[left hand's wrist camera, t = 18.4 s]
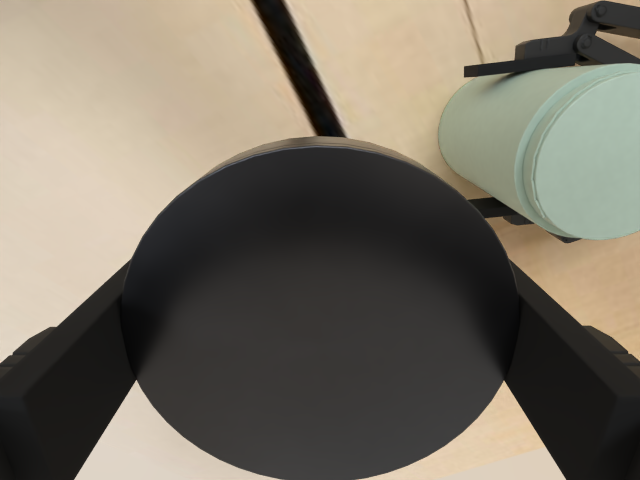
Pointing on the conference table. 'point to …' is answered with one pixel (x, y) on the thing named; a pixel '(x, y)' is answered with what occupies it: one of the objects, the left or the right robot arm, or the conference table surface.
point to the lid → (320, 311)
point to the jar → (553, 145)
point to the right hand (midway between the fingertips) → (468, 145)
